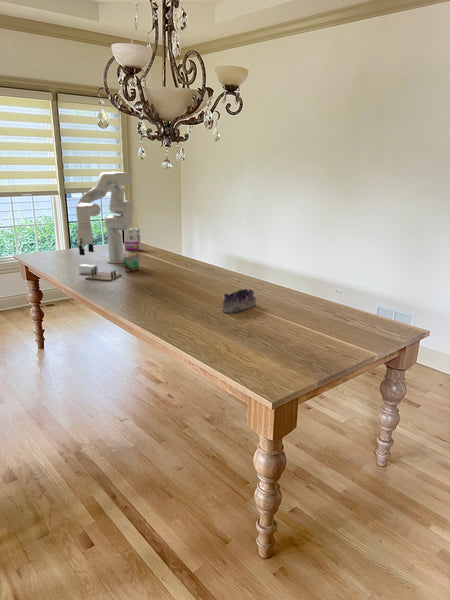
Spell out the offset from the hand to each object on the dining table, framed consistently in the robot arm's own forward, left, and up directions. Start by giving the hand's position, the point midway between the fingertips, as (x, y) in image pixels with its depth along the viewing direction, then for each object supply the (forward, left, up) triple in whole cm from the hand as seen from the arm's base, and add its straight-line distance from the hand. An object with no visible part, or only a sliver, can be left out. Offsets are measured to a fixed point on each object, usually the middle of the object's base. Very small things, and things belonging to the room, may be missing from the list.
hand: (86, 253), depth 268 cm
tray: (+7, +15, -12) cm, 21 cm away
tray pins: (+7, +15, -11) cm, 20 cm away
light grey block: (0, 0, -13) cm, 13 cm away
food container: (-13, +25, -13) cm, 31 cm away
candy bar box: (-73, -7, -13) cm, 74 cm away
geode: (+35, +106, -13) cm, 112 cm away
